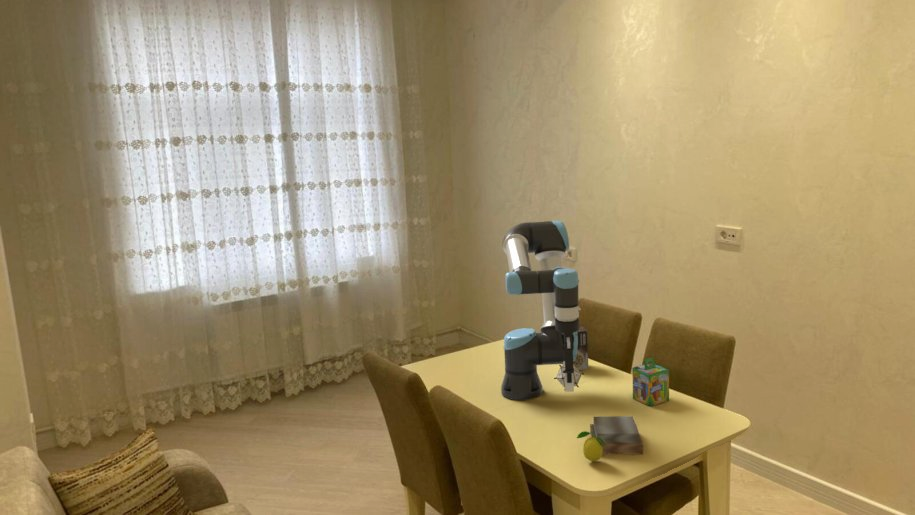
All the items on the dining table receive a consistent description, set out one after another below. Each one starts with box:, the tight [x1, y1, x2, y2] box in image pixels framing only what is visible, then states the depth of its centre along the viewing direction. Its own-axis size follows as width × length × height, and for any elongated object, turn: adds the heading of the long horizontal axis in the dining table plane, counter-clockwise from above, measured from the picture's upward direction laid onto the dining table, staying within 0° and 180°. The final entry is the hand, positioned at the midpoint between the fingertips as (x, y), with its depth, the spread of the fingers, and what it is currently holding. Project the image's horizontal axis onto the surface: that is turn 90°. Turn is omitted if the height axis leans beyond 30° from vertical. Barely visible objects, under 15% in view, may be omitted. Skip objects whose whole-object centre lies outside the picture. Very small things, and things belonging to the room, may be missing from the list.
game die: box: [553, 362, 585, 392], centre depth 214 cm, size 9×8×10 cm
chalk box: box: [631, 357, 670, 407], centre depth 232 cm, size 9×9×15 cm
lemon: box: [576, 430, 607, 463], centre depth 191 cm, size 7×6×10 cm
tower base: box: [589, 415, 644, 455], centre depth 202 cm, size 14×14×6 cm
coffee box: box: [573, 325, 589, 371], centre depth 267 cm, size 9×6×16 cm
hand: (568, 385), depth 215 cm, fingers closed on game die, 8 cm apart
